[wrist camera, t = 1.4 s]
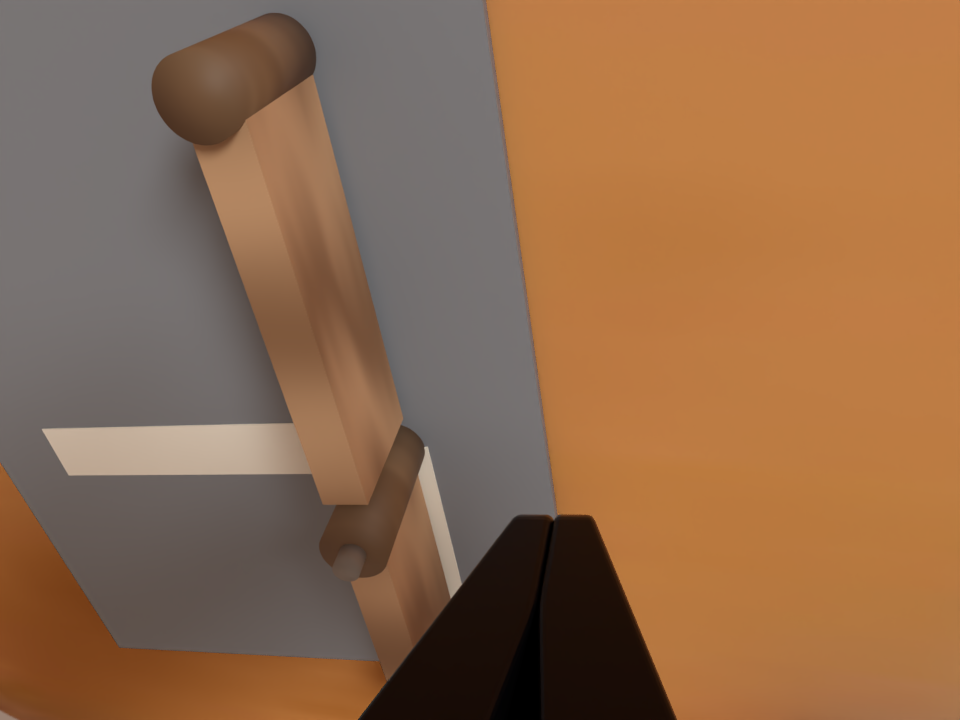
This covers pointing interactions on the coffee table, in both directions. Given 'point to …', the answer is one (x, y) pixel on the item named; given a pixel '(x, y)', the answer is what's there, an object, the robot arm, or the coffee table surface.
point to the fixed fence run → (390, 555)
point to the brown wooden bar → (290, 239)
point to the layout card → (248, 317)
